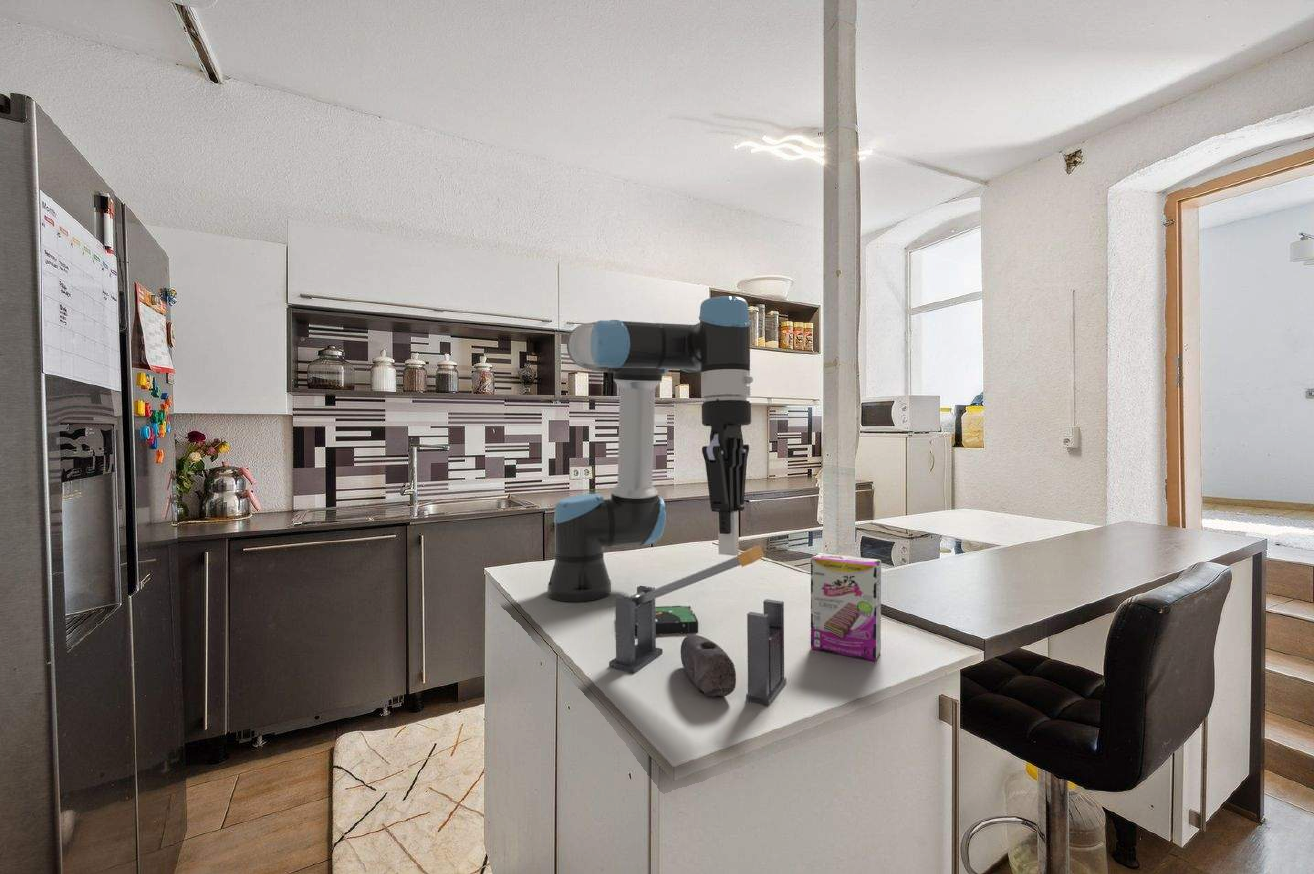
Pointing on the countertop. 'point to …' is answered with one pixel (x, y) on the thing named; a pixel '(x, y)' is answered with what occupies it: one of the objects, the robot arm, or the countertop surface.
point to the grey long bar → (700, 575)
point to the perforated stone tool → (708, 666)
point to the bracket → (626, 650)
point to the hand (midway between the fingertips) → (728, 553)
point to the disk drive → (673, 620)
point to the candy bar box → (846, 605)
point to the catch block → (765, 652)
